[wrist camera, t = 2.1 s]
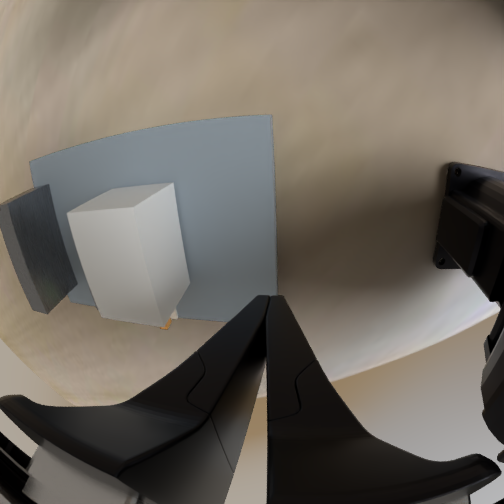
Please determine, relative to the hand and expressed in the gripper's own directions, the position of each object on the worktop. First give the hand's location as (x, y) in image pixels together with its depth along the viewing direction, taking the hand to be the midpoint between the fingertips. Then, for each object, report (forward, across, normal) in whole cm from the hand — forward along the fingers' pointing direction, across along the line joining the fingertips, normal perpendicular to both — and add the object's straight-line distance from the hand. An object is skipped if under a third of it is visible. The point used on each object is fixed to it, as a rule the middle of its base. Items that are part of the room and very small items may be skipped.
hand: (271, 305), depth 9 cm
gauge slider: (+6, +7, +1) cm, 9 cm away
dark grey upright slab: (+6, +16, 0) cm, 17 cm away
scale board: (+7, +9, 0) cm, 11 cm away
